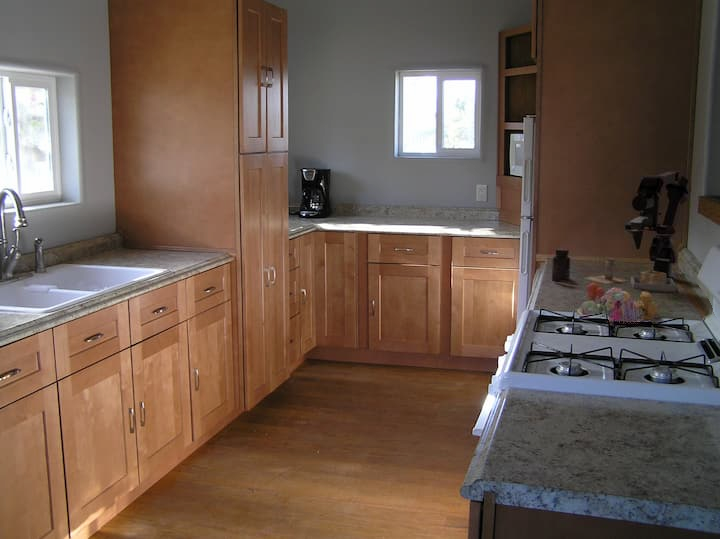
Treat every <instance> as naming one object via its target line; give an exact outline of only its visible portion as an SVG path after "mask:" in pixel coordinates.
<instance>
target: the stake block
mask: <svg viewBox="0 0 720 539" xmlns="http://www.w3.org/2000/svg"><path fill="white" fill-rule="evenodd" d="M604 260H605V268H604V269H605V270H604V271H605V272H604V274H603V275H595V276H588V277H582V279H584V280H588V281H593V282H598V283H602V284H612V283H613V284H614V283H620V282H629V279H624V278H618V277H615V276H614V262H615V261H616V260H615V258H611V257H610V258H609V257H605V258H604Z"/></svg>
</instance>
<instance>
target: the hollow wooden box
mask: <svg viewBox="0 0 720 539" xmlns="http://www.w3.org/2000/svg"><path fill="white" fill-rule="evenodd" d="M666 274H667V273H662V272H656V271H653V270H647V271H640V272H639V277H640V282H639V283H642V284H660V285H667V283H666Z"/></svg>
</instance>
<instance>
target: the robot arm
mask: <svg viewBox="0 0 720 539" xmlns="http://www.w3.org/2000/svg"><path fill="white" fill-rule="evenodd" d="M664 189H665V190H666V196H667V200H668V204H667V207H666V210H665V213H664V217H663V220H662V221H663V222H662V224H661V222H660V223H659V217H660V216H661V215H662V212H661V211H660V201H661V198H662V197H663V196H662V194H661V193H662V192H663V190H664ZM691 193H692V185H691V182H690V180H689V179H688V178H686V177H685V176H684V175H683V174H682V172H681V171H679V170H668V171H666V172H664V173H660V174H657V175H651V174H650V175H649V174H648V175H647V174H646V175H645V174H644V176H642V178H641V180H640V183H639V185H638V188H637V190H636V196H635V197H634V198H633V199H632V201H631V205H632V208H633V209H634V210H635V211H637V212H639V215H638V216H637V217H635V218H633V219H632V220H630V221H627V222H626V223H625V224H624V230H625V231H626V230H627V232H628V233H629V234H630V235H631V236H632V238H633V241H634V245H635V248H636V250H640V248H641V244H642V240H643V234H644V231H651V232H656V234H655V235H654V237H653V238H652V241H651V245H650V247H649V250H648V252H649V253H648V255H649V261H650V262H653V269H652V271H656V272H662V273H667V274H666V278H671V279H673V278H675V277H674V276H673V275H671V273H672V264H676V262H677V257H678V256H677V254H676V251H675V245H674V241H673V235H675V234H676V226H677V222H678V218H679V215H680V211H681V208H682V205H683V204H684V203H686V202H687V201H688V199H689V196H690V195H691Z"/></svg>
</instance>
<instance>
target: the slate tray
mask: <svg viewBox="0 0 720 539" xmlns="http://www.w3.org/2000/svg"><path fill="white" fill-rule="evenodd" d="M636 282H637V283H636ZM638 282H640V276H630V283H631V285H632V289H638V290H637V291H639V292H640V291H641V292H642V291H644V292H657V293H659V292H660V293H661V292H662V293H676V290H677V289H676V288H677V285H676V283H675V282H674V280H673V278H666V285H660V284H642V283H638Z"/></svg>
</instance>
